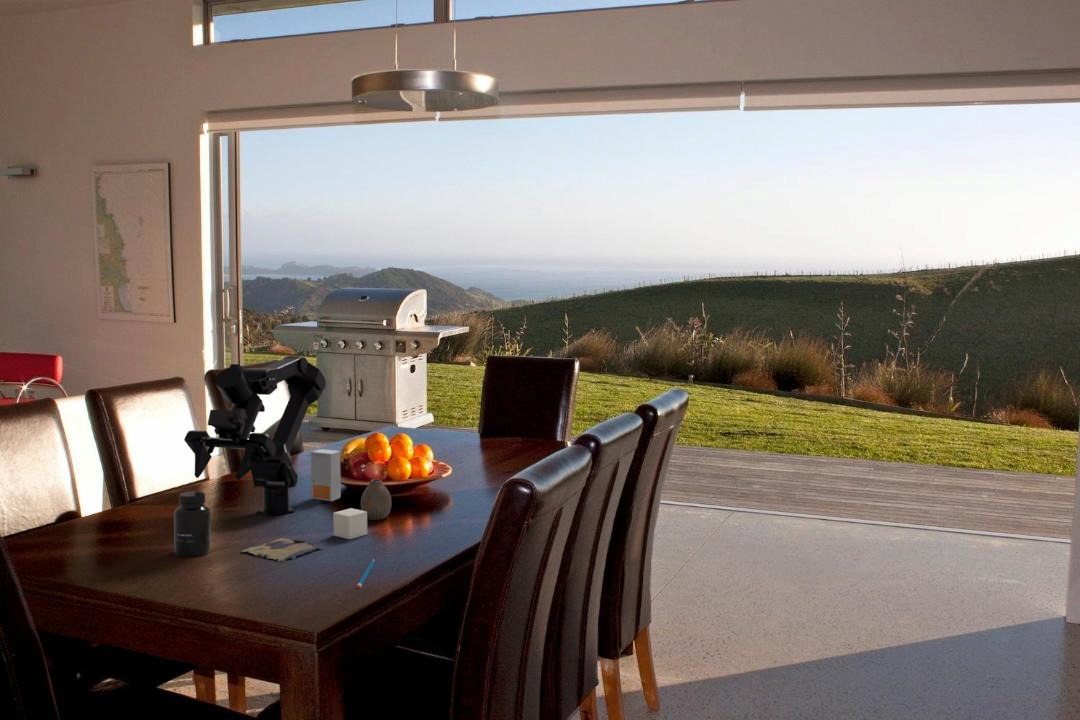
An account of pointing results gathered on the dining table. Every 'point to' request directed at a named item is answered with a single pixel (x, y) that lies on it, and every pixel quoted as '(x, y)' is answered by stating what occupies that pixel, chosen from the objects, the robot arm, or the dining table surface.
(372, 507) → the vase
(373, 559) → the pencil
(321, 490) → the skincare box
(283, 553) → the parchment
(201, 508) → the supplement bottle
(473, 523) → the dining table surface
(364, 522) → the cream ceramic block
